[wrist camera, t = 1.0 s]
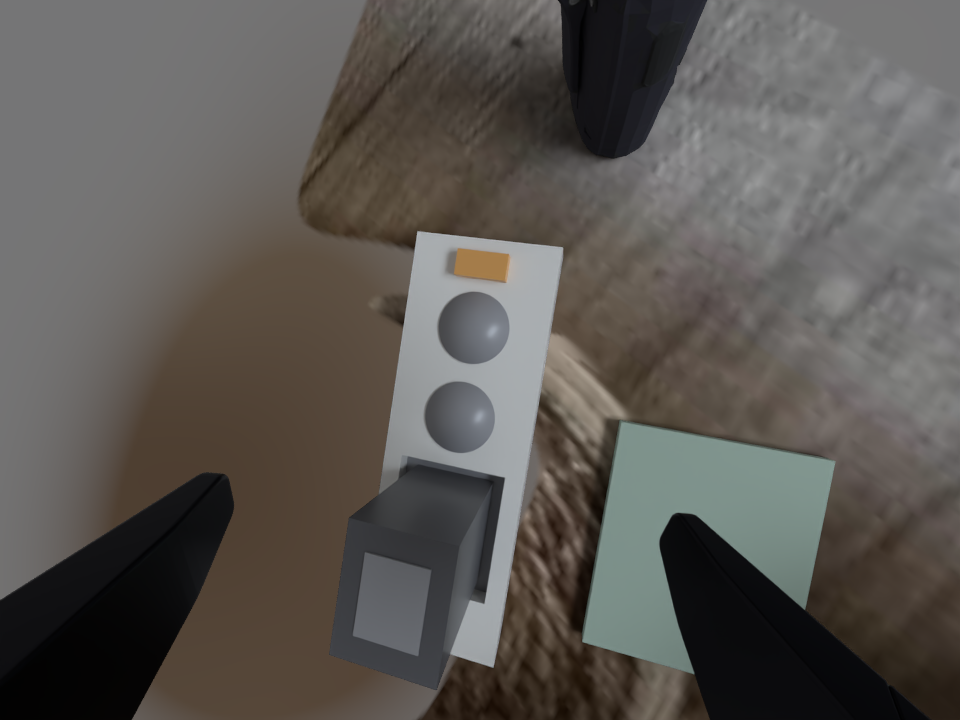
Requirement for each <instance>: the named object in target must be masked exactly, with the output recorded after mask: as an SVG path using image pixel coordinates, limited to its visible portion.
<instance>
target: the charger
mask: <svg viewBox="0 0 960 720" xmlns="http://www.w3.org/2000/svg"><path fill="white" fill-rule="evenodd" d="M493 484H494V481H490V480H486V479H482V478H477V477H473V476H468V475H464V474H459V473H455V472H450V471H446V470H441V469H437V468H432V467H428V466H424V465H419V464H418V465H416V466H415V467H414V468H412V469H411V470H410V471H409V472H407V473H406V474H405V475H403V476H402V477H401V478H400V479H398V480H397V481H396V482H394V483H393V484H392V485H391V486H389V487H388V488H387V489H385V490H384V491H383V492H382V493H380V494H379V495H378V496H376V497H375V498H374V499H373V500H371V501H370V502H369V503H367V504H366V505H365V506H364V507H362V508H361V509H360V510H358V511H357V512H356V513H355V514H353V515H352V516H351V517H349V521H348V528H347V535H346V542H345V549H344V555H343V562H342V569H341V576H340V584H339V590H338V597H337V604H336V611H335V618H334V624H333V632H332V638H331V645H330V652H329V655H331V656H334V657H338V658H340V659H343V660H347V661H350V662H353V663H356V664H359V665H362V666H365V667H368V668H371V669H374V670H377V671H380V672H383V673H386V674H389V675H392V676H395V677H398V678H401V679H404V680H407V681H410V682H413V683H416V684H419V685H422V686H425V687H428V688H431V689H434V690H437V688H438V685H439V682H440V679H441V677H442V674H443V671H444V669H445V666H446V663H447V661H448V658H449V655H450V653H451V650H452V647H453V645H454V642H455V639H456V637H457V634H458V631H459V628H460V626H461V623H462V620H463V618H464V615H465V612H466V610H467V607H468V604H469V602H470V599H471V596H472V594H473V591H474V588H475V586H476V583H477V580H478V576H479V570H480V564H481V558H482V552H483V546H484V539H485V533H486V527H487V521H488V515H489V509H490V503H491V496H492V490H493Z"/></svg>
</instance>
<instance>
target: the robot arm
mask: <svg viewBox="0 0 960 720" xmlns="http://www.w3.org/2000/svg"><path fill="white" fill-rule="evenodd" d="M233 510H234V501H233V496H232V491H231V487H230V482H229V479H228V477H227V476H226V475H225V474H220V473H209V472H206V473H202V474H200V475H198V476H196V477H194V478H193V479H191V480H190V481H188V482H186V483H185V484H183V485H182V486H180V487H178V488H177V489H175V490H174V491H172V492H171V493H169V494H167V495H166V496H164V497H163V498H161V499H160V500H158V501H156V502H155V503H153V504H152V505H150V506H148V507H147V508H145V509H144V510H142V511H140V512H139V513H137V514H136V515H134V516H133V517H131V518H129V519H128V520H126V521H125V522H123V523H121V524H120V525H118V526H117V527H115V528H113V529H112V530H110V531H109V532H107V533H106V534H104V535H102V536H101V537H99V538H98V539H96V540H95V541H93V542H91V543H90V544H88V545H87V546H85V547H83V548H82V549H80V550H79V551H77V552H75V553H74V554H72V555H71V556H69V557H68V558H66V559H64V560H63V561H61V562H60V563H58V564H56V565H55V566H53V567H52V568H50V569H48V570H47V571H45V572H44V573H42V574H41V575H39V576H38V577H36V578H34V579H33V580H31V581H30V582H28V583H26V584H25V585H23V586H22V587H20V588H18V589H17V590H15V591H14V592H12V593H11V594H9V595H7V596H6V597H4V598H3V599H1V600H0V720H132V718H133V717H134V715H135V713H136V711H137V709H138V707H139V705H140V704H141V701H142V700H143V698H144V696H145V694H146V692H147V691H148V689H149V687H150V685H151V683H152V681H153V679H154V678H155V676H156V674H157V672H158V670H159V668H160V666H161V665H162V663H163V661H164V659H165V657H166V655H167V653H168V652H169V650H170V648H171V646H172V644H173V642H174V641H175V639H176V637H177V635H178V633H179V631H180V629H181V628H182V625H183V624H184V622H185V620H186V618H187V616H188V614H189V613H190V611H191V609H192V607H193V605H194V603H195V601H196V599H197V597H198V595H199V593H200V591H201V588H202V586H203V584H204V582H205V579H206V577H207V574H208V572H209V570H210V567H211V565H212V562H213V560H214V558H215V555H216V553H217V550H218V548H219V546H220V543H221V541H222V538H223V536H224V534H225V531H226V529H227V526H228V524H229V522H230V519H231V517H232V514H233ZM659 548H660V553H661V557H662V561H663V565H664V569H665V574H666V578H667V582H668V586H669V590H670V595H671V599H672V603H673V607H674V611H675V615H676V619H677V623H678V626H679V629H680V632H681V636H682V639H683V642H684V645H685V647H686V650H687V653H688V656H689V659H690V662H691V665H692V668H693V671H694V674H695V677H696V680H697V683H698V686H699V689H700V692H701V695H702V698H703V700H704V703H705V706H706V709H707V712H708V715H709V718H710V720H931V719H930V718H929V717H927V716H926V715H925V714H924V713H923V712H921V711H920V710H919V709H918V708H917V707H916V706H915V705H913V704H912V703H911V702H910V701H909V700H908V699H907V698H905V697H904V696H903V695H902V694H901V693H900V692H898V691H897V690H896V689H895V688H894V687H893V686H891V685H888V684H887V682H886V680H885V679H883V678H882V677H881V676H880V675H879V674H878V673H877V672H875V671H874V670H873V669H872V668H871V667H870V666H869V665H867V664H866V663H865V662H864V661H863V660H862V659H860V658H859V657H858V656H857V655H856V654H855V653H854V652H852V651H851V650H850V649H849V648H848V647H847V646H846V645H844V644H843V643H842V642H841V641H840V640H839V639H838V638H836V637H835V636H834V635H833V634H832V633H831V632H830V631H828V630H827V629H826V628H825V627H824V626H823V625H822V624H820V623H819V622H818V621H817V620H816V619H815V618H813V617H812V616H811V615H810V614H809V613H808V612H807V611H805V610H804V609H803V608H802V607H801V606H800V605H799V604H797V603H796V602H795V601H794V600H793V599H792V598H791V597H789V596H788V595H787V594H786V593H785V592H784V591H783V590H781V589H780V588H779V587H778V586H777V585H776V584H775V583H773V582H772V581H771V580H770V579H769V578H768V577H767V576H765V575H764V574H763V573H762V572H761V571H760V570H758V569H757V568H756V567H755V566H754V565H753V564H752V563H750V562H749V561H748V560H747V559H746V558H745V557H744V556H742V555H741V554H740V553H739V552H738V551H737V550H736V549H734V548H733V547H732V546H731V545H730V544H729V543H728V542H726V541H725V540H724V539H723V538H722V537H721V536H720V535H718V534H717V533H716V532H715V531H714V530H713V529H711V528H710V527H709V526H708V525H707V524H706V523H705V522H703V521H702V520H701V519H700V518H699V517H697V516H696V515H694V514H689V513H675V514H673V515H672V516H671V518H670V520H669V521H668V523H667V525H666V527H665V529H664V531H663V532H662V534H661V536H660V540H659Z"/></svg>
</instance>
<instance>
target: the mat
mask: <svg viewBox="0 0 960 720" xmlns="http://www.w3.org/2000/svg"><path fill="white" fill-rule="evenodd" d="M834 466H835V461H833V460H831V459H828V458H824V457H819V456H814V455H808V454H803V453H797V452H792V451H786V450H781V449H776V448H770V447H765V446H759V445H754V444H748V443H743V442H738V441H732V440H727V439H721V438H716V437H710V436H705V435H700V434H694V433H689V432H683V431H678V430H673V429H667V428H662V427H656V426H651V425H645V424H640V423H635V422H629V421H624V420H620V421H619V427H618V433H617V438H616V444H615V450H614V455H613V461H612V467H611V472H610V478H609V484H608V489H607V495H606V501H605V506H604V512H603V518H602V523H601V529H600V534H599V540H598V546H597V551H596V557H595V563H594V568H593V574H592V580H591V585H590V591H589V597H588V602H587V608H586V614H585V619H584V625H583V631H582V642H584V643H588V644H591V645H595V646H598V647H602V648H605V649H609V650H612V651H616V652H619V653H623V654H626V655H630V656H633V657H636V658H640V659H643V660H647V661H650V662H654V663H657V664H661V665H664V666H668V667H671V668H675V669H678V670H682V671H685V672H689V673H692V674H694V671H693V668H692V665H691V662H690V659H689V656H688V653H687V650H686V647H685V645H684V642H683V639H682V636H681V632H680V629H679V626H678V623H677V619H676V615H675V611H674V607H673V603H672V599H671V595H670V590H669V586H668V582H667V578H666V574H665V569H664V565H663V561H662V557H661V553H660V548H659V540H660V536H661V534H662V532H663V531H664V529H665V527H666V525H667V523H668V521H669V520H670V518H671V516H672V515H673V514H675V513H689V514H694V515H696V516H697V517H699V518H700V519H701V520H702V521H703V522H705V523H706V524H707V525H708V526H709V527H710V528H711V529H713V530H714V531H715V532H716V533H717V534H718V535H720V536H721V537H722V538H723V539H724V540H725V541H726V542H728V543H729V544H730V545H731V546H732V547H733V548H734V549H736V550H737V551H738V552H739V553H740V554H741V555H742V556H744V557H745V558H746V559H747V560H748V561H749V562H750V563H752V564H753V565H754V566H755V567H756V568H757V569H758V570H760V571H761V572H762V573H763V574H764V575H765V576H767V577H768V578H769V579H770V580H771V581H772V582H773V583H775V584H776V585H777V586H778V587H779V588H780V589H781V590H783V591H784V592H785V593H786V594H787V595H788V596H789V597H791V598H792V599H793V600H794V601H795V602H796V603H797V604H799V605H800V606H801V607H802V608H803V609H804V610H805V608H806V603H807V598H808V593H809V588H810V584H811V579H812V574H813V569H814V564H815V559H816V554H817V549H818V544H819V539H820V535H821V530H822V525H823V520H824V515H825V510H826V505H827V500H828V495H829V491H830V486H831V481H832V476H833V471H834Z"/></svg>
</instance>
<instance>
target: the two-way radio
mask: <svg viewBox="0 0 960 720" xmlns="http://www.w3.org/2000/svg"><path fill="white" fill-rule="evenodd" d="M558 1H559V2H560V4H561V16H562V54H563V69H564V74H565V78H566V82H567V85H568V88H569V91H570V96H571V102H572V108H573V112H574V116H575V120H576V123H577V126H578V130H579V132H580V135H581V138H582V140H583V142H584V144H585V145H586V147H587V148H588V149H589V150H590V151H592V152H593V153H594V154H596V155H603V156H606V157H610V158H617V157H622V156H626V155H628V154H630V153H632V152H633V151H635V150H637V149H638V148H639V147H640V146H641V145H642V144H643V143H644V142H645V140H646V138H647V136H648V134H649V132H650V130H651V128H652V126H653V124H654V121H655V119H656V117H657V115H658V112H659V110H660V108H661V106H662V104H663V102H664V100H665V98H666V96H667V95H668V92H669V90H670V88H671V86H672V85H673V83H674V78H675V75H676V72H677V66H678V65H680V63H681V61H682V59H683V56H684V54H685V52H686V50H687V46H688V44H689V42H690V40H691V38H692V35H693V33H694V30H695V28H696V26H697V23H698V21H699V18H700V16H701V14H702V11H703V9H704V7H705V4H706V2H707V0H558Z"/></svg>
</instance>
